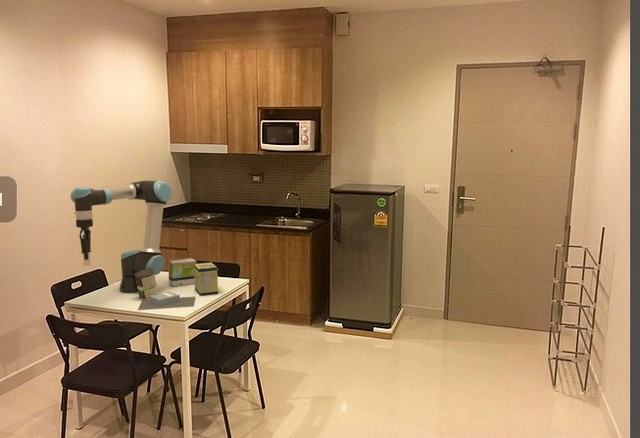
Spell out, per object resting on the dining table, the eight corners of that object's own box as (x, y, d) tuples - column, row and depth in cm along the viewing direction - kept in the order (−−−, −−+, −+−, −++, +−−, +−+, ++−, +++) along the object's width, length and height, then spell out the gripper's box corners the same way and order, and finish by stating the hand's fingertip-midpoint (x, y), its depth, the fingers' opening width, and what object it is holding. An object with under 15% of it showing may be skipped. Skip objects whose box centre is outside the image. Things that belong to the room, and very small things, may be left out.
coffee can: (136, 300, 274) (131, 277, 270) (143, 292, 283) (138, 269, 279) (155, 299, 273) (150, 275, 269) (161, 291, 283) (156, 268, 279)
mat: (142, 300, 272) (142, 299, 272) (195, 297, 278) (195, 296, 278) (137, 311, 255) (137, 310, 255) (194, 307, 261) (194, 306, 260)
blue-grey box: (159, 299, 260) (179, 294, 269) (149, 296, 267) (169, 291, 276) (159, 306, 261) (179, 301, 269) (149, 302, 267) (169, 297, 276)
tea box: (172, 287, 299) (171, 263, 297) (168, 283, 308) (167, 260, 306) (197, 283, 307) (196, 260, 305) (192, 280, 315) (192, 257, 313)
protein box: (212, 287, 299) (211, 261, 297) (218, 294, 285) (217, 267, 283) (194, 289, 295) (193, 263, 293) (200, 296, 281) (199, 269, 279)
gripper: (79, 217, 252) (82, 263, 255) (72, 220, 239) (75, 269, 242) (95, 216, 253) (98, 262, 256) (89, 220, 241) (92, 268, 244)
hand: (87, 265), depth 249 cm, fingers closed
